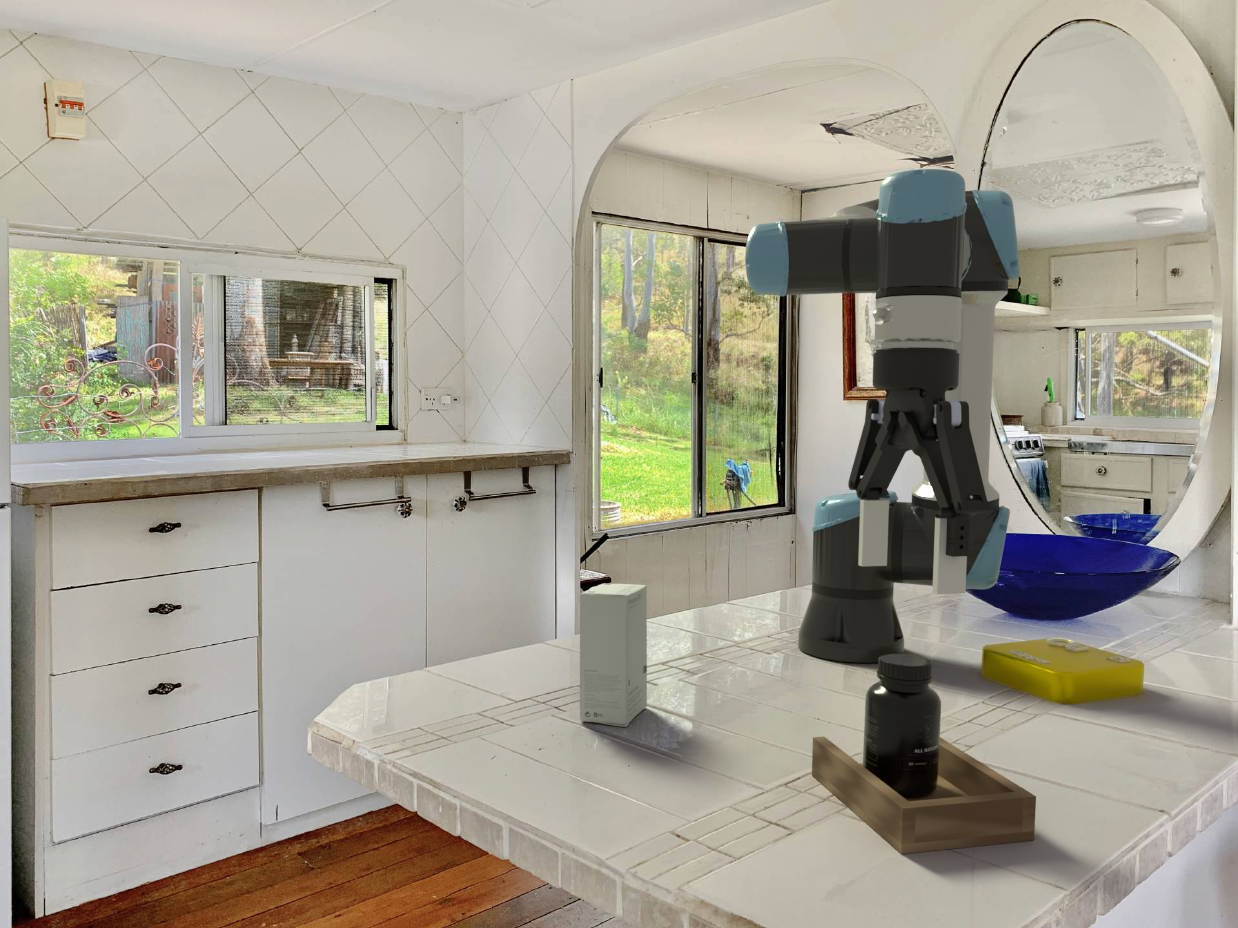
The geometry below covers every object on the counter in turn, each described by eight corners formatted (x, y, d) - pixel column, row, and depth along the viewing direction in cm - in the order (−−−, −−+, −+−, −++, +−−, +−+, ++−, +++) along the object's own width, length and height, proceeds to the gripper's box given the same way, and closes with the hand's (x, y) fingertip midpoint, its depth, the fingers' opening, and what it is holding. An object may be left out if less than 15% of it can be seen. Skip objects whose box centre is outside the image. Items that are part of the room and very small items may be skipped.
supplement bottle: (932, 805, 89) (937, 673, 89) (855, 791, 92) (859, 663, 91) (942, 778, 96) (946, 655, 95) (869, 766, 99) (873, 646, 98)
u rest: (811, 775, 98) (812, 737, 98) (925, 765, 101) (926, 729, 101) (901, 853, 82) (902, 808, 81) (1034, 839, 85) (1036, 796, 84)
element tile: (974, 676, 136) (975, 641, 135) (1056, 666, 142) (1058, 632, 141) (1062, 709, 122) (1064, 670, 122) (1150, 696, 128) (1152, 659, 128)
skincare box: (627, 728, 111) (629, 596, 110) (576, 722, 113) (577, 592, 112) (648, 706, 119) (650, 582, 118) (599, 700, 121) (601, 579, 120)
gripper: (819, 350, 102) (813, 556, 104) (956, 339, 78) (946, 608, 80) (885, 352, 104) (879, 555, 106) (1040, 342, 80) (1028, 605, 81)
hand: (908, 578), depth 93 cm, fingers open, 13 cm apart
